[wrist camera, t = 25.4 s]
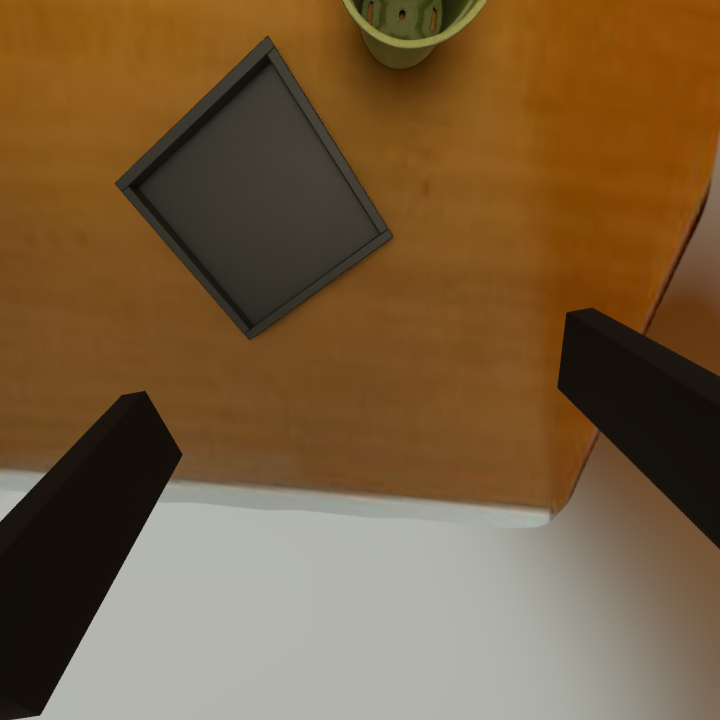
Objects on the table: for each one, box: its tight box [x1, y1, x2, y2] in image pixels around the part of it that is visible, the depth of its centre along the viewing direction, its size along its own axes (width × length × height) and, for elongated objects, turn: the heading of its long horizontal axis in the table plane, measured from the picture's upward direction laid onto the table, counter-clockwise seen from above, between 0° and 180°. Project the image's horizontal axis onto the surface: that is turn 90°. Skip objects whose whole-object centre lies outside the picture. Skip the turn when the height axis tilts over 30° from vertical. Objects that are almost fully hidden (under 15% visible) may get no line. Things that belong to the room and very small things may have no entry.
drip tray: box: [115, 36, 393, 340], centre depth 30 cm, size 17×17×2 cm
